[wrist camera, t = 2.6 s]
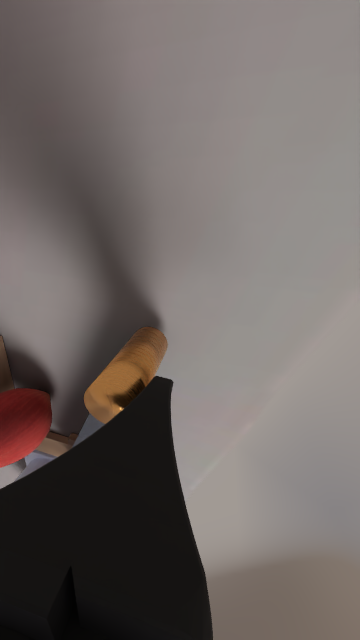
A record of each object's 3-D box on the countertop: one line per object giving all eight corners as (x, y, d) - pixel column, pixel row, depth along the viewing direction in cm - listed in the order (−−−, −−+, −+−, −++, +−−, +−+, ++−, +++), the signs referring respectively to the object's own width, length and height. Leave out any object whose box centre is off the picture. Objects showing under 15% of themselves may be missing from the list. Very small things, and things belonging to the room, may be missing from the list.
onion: (15, 394, 22) (-85, 472, 15) (28, 360, 20) (-84, 435, 12) (61, 422, 23) (-14, 512, 15) (79, 393, 20) (0, 483, 13)
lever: (91, 471, 23) (50, 545, 18) (66, 458, 23) (18, 528, 18) (177, 340, 14) (151, 406, 9) (138, 317, 14) (87, 370, 9)
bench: (104, 464, 24) (70, 531, 19) (5, 433, 26) (-53, 487, 20) (105, 363, 18) (56, 419, 13) (-26, 328, 19) (-123, 366, 14)
